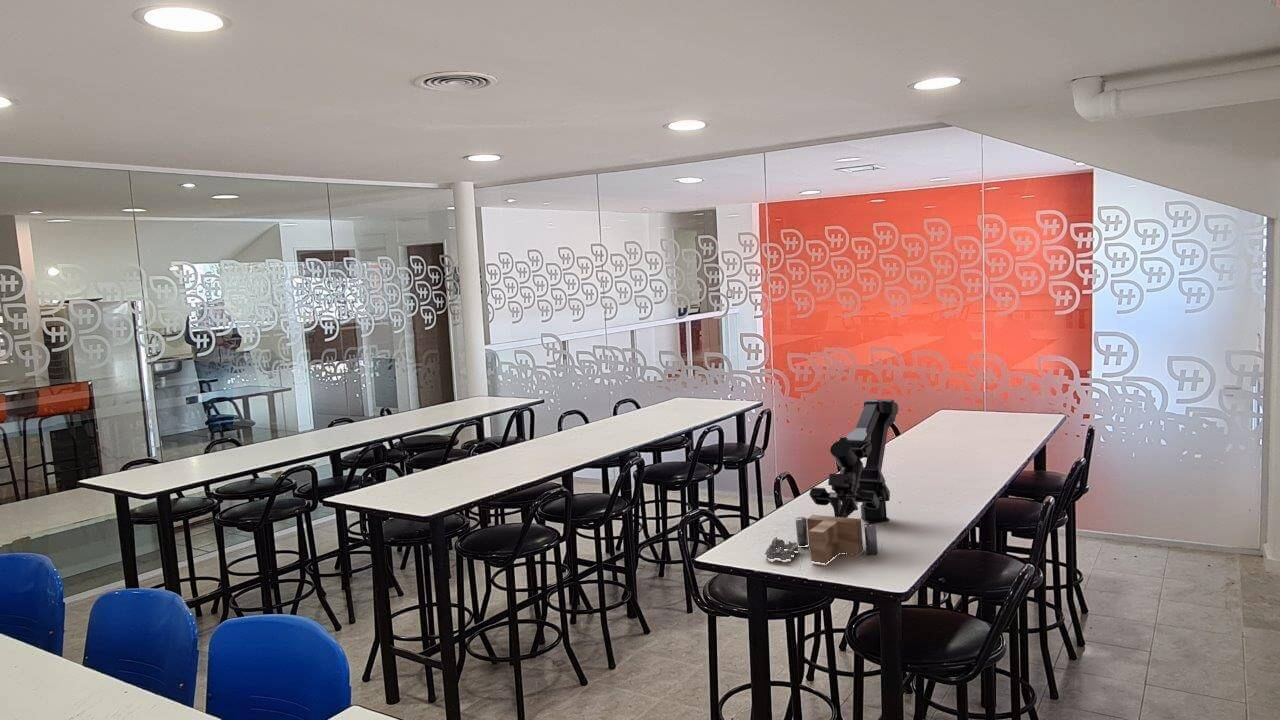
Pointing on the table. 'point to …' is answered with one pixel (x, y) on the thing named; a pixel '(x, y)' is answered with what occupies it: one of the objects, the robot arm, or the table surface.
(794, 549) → the grey jagged rock
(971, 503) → the table surface
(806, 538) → the goal posts
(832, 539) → the walnut T block
